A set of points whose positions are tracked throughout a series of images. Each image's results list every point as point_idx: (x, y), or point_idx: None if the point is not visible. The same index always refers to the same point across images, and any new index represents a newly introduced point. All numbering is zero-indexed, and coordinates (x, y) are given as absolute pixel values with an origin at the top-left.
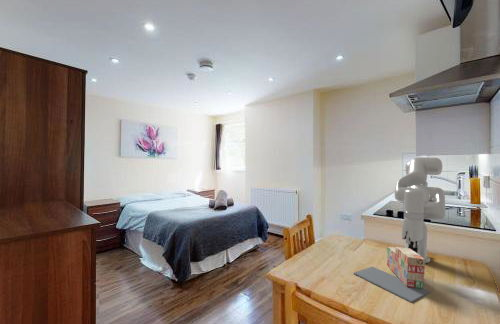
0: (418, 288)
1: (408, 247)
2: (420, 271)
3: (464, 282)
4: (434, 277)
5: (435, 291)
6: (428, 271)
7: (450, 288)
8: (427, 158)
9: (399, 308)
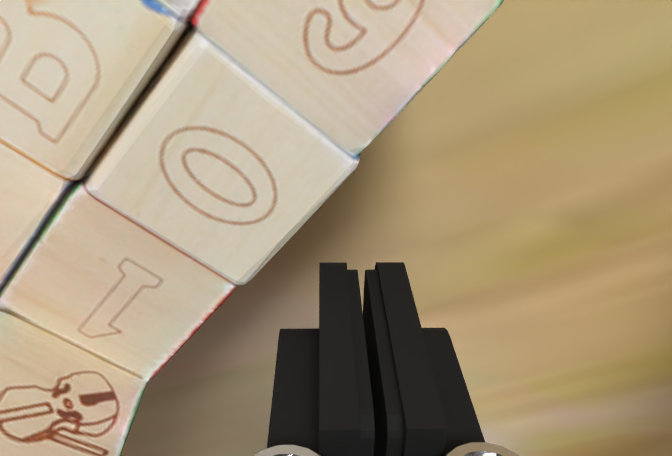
0: None
1: (321, 386)
2: None
3: (567, 448)
4: (453, 318)
5: (154, 413)
6: (580, 232)
7: None
8: None
9: None
